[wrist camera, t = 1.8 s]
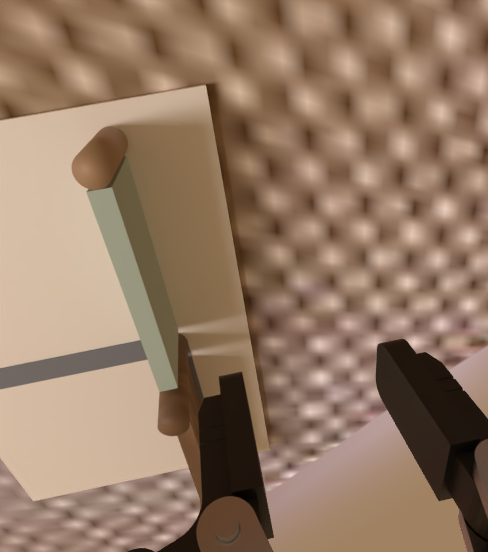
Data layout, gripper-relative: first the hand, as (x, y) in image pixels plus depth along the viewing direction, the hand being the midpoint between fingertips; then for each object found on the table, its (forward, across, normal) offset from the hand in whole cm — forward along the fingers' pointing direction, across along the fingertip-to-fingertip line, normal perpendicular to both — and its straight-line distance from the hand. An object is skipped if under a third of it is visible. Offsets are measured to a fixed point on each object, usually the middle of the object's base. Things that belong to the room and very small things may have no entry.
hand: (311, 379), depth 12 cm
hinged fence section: (+16, +7, +2) cm, 18 cm away
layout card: (+17, +13, +10) cm, 24 cm away
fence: (+17, +7, +18) cm, 26 cm away
